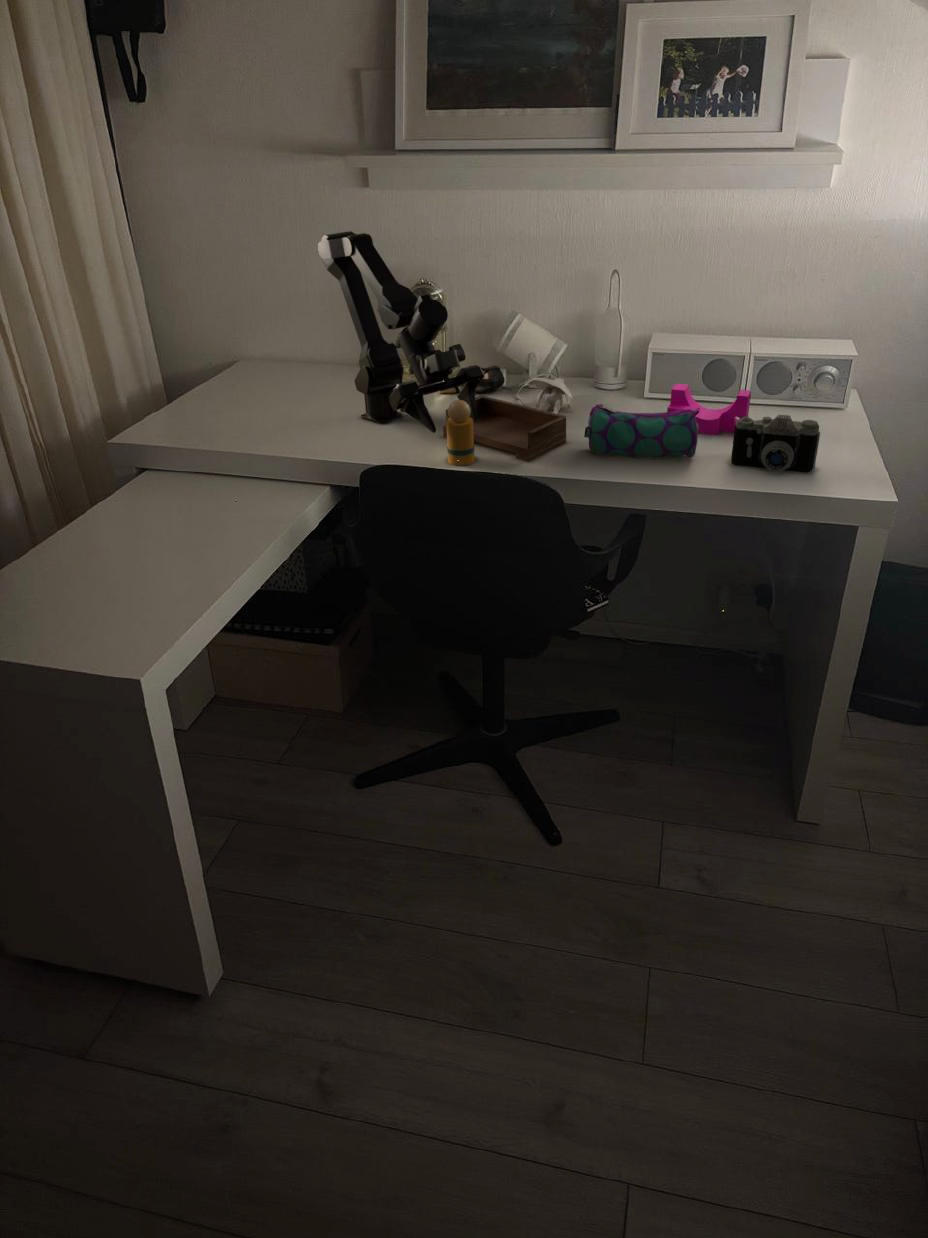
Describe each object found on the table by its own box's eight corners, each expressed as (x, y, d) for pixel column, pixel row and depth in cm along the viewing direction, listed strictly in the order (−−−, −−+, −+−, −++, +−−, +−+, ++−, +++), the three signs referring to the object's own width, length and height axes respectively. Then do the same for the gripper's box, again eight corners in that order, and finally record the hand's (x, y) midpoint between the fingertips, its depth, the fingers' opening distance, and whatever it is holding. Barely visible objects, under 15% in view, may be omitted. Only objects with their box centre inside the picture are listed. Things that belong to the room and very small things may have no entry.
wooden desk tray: (443, 437, 197) (441, 411, 194) (481, 420, 205) (480, 394, 202) (528, 461, 185) (528, 434, 182) (566, 442, 192) (566, 416, 189)
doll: (443, 458, 188) (440, 398, 182) (467, 453, 190) (465, 394, 183) (454, 467, 184) (451, 406, 177) (479, 462, 185) (477, 401, 179)
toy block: (665, 429, 196) (668, 393, 192) (673, 418, 201) (675, 383, 197) (741, 437, 191) (745, 400, 187) (746, 426, 196) (751, 390, 192)
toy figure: (443, 401, 217) (508, 390, 219) (440, 373, 214) (506, 362, 216) (438, 395, 223) (501, 385, 225) (434, 367, 221) (498, 357, 223)
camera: (727, 471, 177) (732, 419, 172) (732, 458, 182) (738, 406, 177) (812, 480, 172) (820, 427, 167) (814, 466, 178) (823, 413, 172)
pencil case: (583, 461, 184) (584, 412, 179) (588, 443, 191) (589, 396, 186) (695, 466, 180) (700, 416, 175) (696, 448, 187) (700, 399, 182)
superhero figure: (570, 430, 200) (583, 390, 216) (569, 388, 195) (582, 350, 210) (521, 429, 203) (537, 389, 218) (519, 387, 197) (535, 349, 213)
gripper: (392, 341, 175) (427, 416, 173) (477, 322, 183) (512, 394, 181) (374, 373, 185) (408, 445, 183) (456, 354, 193) (489, 422, 191)
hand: (455, 426), depth 184 cm, fingers open, 9 cm apart
